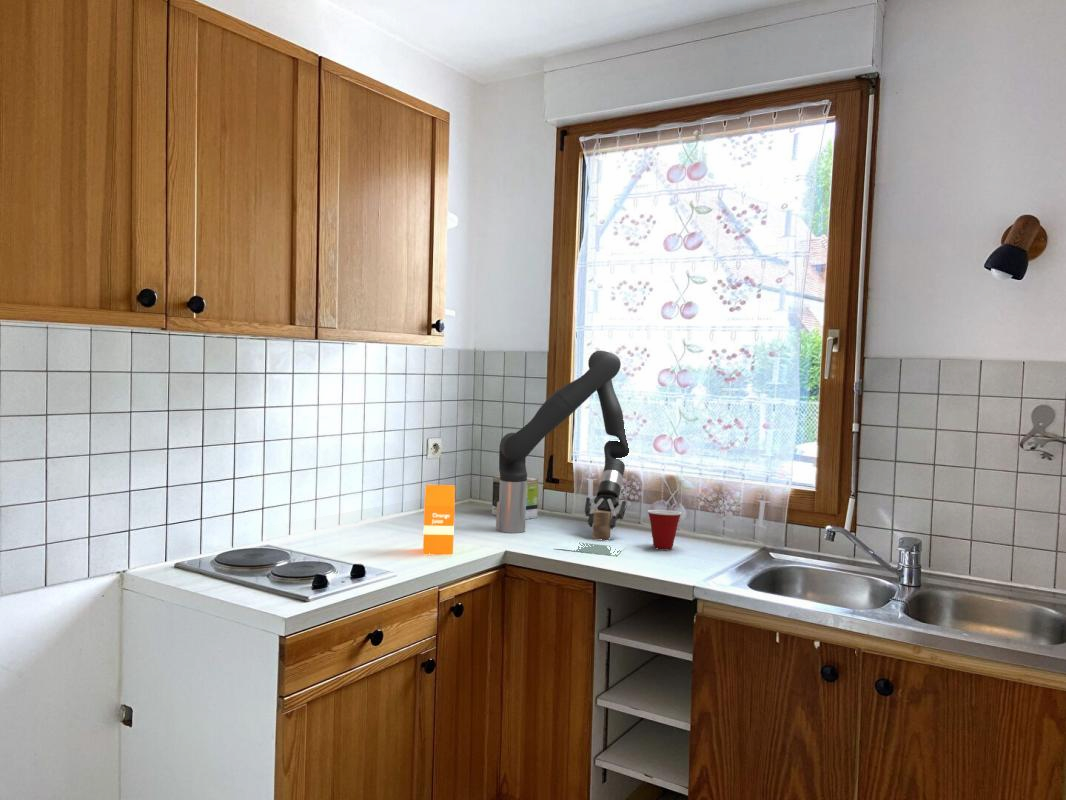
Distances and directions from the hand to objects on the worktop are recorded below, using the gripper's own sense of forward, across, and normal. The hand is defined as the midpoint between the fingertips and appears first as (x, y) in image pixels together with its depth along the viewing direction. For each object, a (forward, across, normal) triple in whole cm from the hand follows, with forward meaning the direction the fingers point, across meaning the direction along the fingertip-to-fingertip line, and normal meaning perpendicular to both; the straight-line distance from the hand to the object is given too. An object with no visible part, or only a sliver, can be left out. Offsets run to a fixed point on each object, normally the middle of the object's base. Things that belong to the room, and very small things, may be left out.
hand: (600, 526), depth 258 cm
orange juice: (+31, -40, -25) cm, 56 cm away
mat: (+13, 0, -7) cm, 15 cm away
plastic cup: (+5, +21, +2) cm, 22 cm away
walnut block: (+2, 0, +4) cm, 5 cm away
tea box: (-14, -39, +21) cm, 46 cm away
